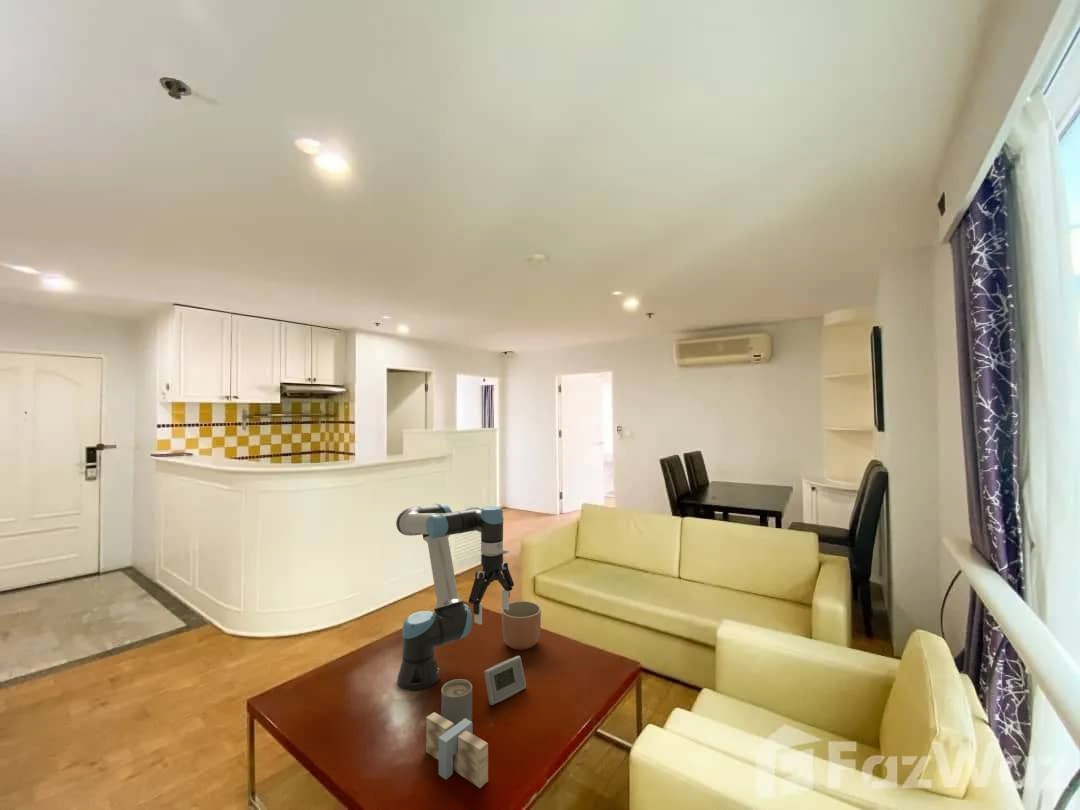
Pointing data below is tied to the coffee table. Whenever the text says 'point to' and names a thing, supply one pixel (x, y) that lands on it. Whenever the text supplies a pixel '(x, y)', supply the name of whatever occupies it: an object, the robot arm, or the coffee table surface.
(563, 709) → the coffee table surface
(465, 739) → the maple rail
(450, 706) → the coffee mug
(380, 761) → the coffee table surface
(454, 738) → the bridge plate
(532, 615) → the planter
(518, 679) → the digital clock
